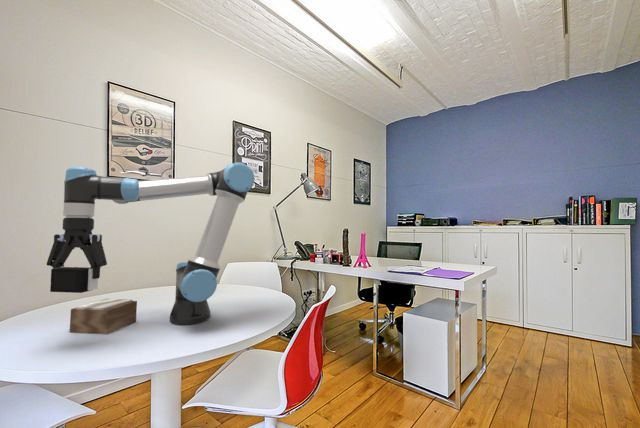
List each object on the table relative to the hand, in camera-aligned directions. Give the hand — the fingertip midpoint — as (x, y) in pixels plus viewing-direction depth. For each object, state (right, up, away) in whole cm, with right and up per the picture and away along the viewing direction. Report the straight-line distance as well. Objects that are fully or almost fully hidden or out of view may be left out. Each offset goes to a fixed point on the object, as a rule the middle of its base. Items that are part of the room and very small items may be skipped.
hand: (75, 289), depth 90 cm
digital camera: (0, -1, -1) cm, 1 cm away
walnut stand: (-4, -19, +18) cm, 26 cm away
